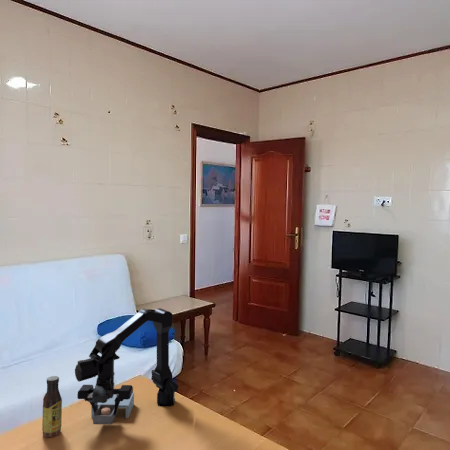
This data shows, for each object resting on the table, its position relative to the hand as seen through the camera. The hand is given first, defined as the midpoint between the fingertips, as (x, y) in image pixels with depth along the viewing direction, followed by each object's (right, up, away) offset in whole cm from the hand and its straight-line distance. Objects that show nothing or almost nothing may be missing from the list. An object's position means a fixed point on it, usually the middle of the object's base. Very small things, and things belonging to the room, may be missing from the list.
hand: (105, 414), depth 141 cm
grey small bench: (0, -5, +11) cm, 12 cm away
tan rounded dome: (0, -1, 0) cm, 1 cm away
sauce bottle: (-18, -5, -3) cm, 19 cm away
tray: (0, -1, 0) cm, 1 cm away
